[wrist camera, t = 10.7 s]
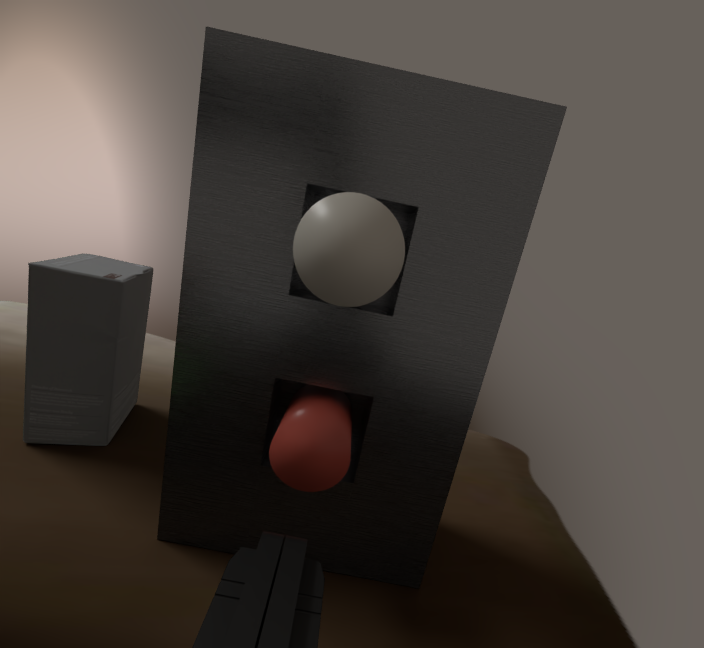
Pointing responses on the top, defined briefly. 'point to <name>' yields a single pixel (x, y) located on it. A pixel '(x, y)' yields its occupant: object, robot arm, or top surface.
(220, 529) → the tall grey block
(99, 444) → the skincare box
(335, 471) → the red button
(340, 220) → the white cylinder
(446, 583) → the top surface
